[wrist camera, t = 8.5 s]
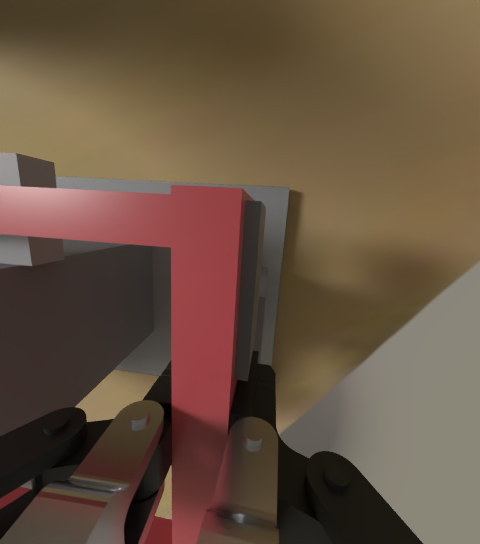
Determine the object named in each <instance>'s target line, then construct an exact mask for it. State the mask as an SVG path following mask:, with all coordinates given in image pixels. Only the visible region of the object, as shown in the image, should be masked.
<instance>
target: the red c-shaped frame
mask: <svg viewBox="0 0 480 544" xmlns="http://www.w3.org/2000/svg"><path fill="white" fill-rule="evenodd" d="M265 216H266V207H265V205H264V204H263V203H262V201H255V200H254V199H253V198H252V197H251V196H250V195H249V194H248V193H247V192H246V191H244V190H243V189H242V188H228V187H207V186H185V185H171V194H157V193H137V192H118V191H99V190H79V189H60V188H40V187H21V186H2V185H0V234H6V235H19V236H32V237H44V238H57V239H69V240H82V241H95V242H107V243H120V244H133V245H145V246H158V247H171V368H172V520H170V519H165V518H161V517H156V516H154V518H153V521H152V524H151V527H150V529H149V532H148V535H147V537H146V540H145V543H144V544H196V543H197V540H198V536H199V532H200V528H201V525H202V521H203V518H204V515H205V512H206V510H207V509H210V507H211V503H212V500H213V496H214V492H215V488H216V484H217V480H218V476H219V472H220V468H221V464H222V460H223V456H224V452H225V447H226V443H227V439H228V435H229V419H230V410H231V406H232V401H233V397H234V393H235V388H236V384H237V380H242V381H248V377H249V371H250V365H251V358H252V352H253V346H254V340H255V333H256V327H257V315H258V302H259V290H260V278H261V265H262V253H263V241H264V228H265ZM30 490H31V489H29V488H24V487H18V488H17V489H15V490H13V491H12V492H10V493H9V494H7V495H5V496H4V497H2V498H0V509H1V508H3V507H5V506H6V505H8V504H9V503H11V502H12V501H14V500H16V499H17V498H19V497H20V496H22V495H23V494H25V493H26V492H28V491H30Z"/></svg>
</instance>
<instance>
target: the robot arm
mask: <svg viewBox="0 0 480 544" xmlns="http://www.w3.org/2000/svg"><path fill="white" fill-rule="evenodd" d="M258 355H259V351H253V352H252V358H251V365H250V371H249V377H248V381H242V380H237V384H236V388H235V393H234V397H233V401H232V406H231V410H230V419H229V435H228V439H227V443H226V447H225V452H224V456H223V460H222V464H221V468H220V472H219V476H218V480H217V484H216V488H215V492H214V496H213V500H212V503H211V507H210V509H207V510H206V512H205V515H204V518H203V521H202V525H201V528H200V532H199V536H198V540H197V543H196V544H423V543H422V542H421V541H420V540H419V538H418V537H417V536H416V535H415V534H414V533H413V532H412V530H411V529H410V528H409V527H408V526H407V525H406V524H405V523H404V521H403V520H402V519H401V518H400V517H399V516H398V515H397V513H396V512H395V511H394V510H393V509H392V508H391V507H390V505H389V504H388V503H387V502H386V501H385V500H384V499H383V497H382V496H381V495H380V494H379V493H378V492H377V491H376V489H375V488H374V487H373V486H372V485H371V484H370V483H369V482H368V480H367V479H366V478H365V477H364V476H363V475H362V473H361V472H360V471H359V470H358V469H357V468H356V467H355V466H354V465H353V464H352V463H351V462H350V461H349V460H347V459H346V458H344V457H343V456H340V455H339V454H336V453H333V452H329V451H322V452H318V453H315V454H314V455H312V456H311V457H310V459H309V458H307V457H305V456H303V455H301V454H299V453H297V452H295V451H294V450H292V449H291V448H289V447H288V446H287V445H286V444H285V443H284V442H283V441H282V440H281V438H280V437H279V435H278V432H277V429H276V394H275V372H274V371H273V369H272V367H271V366H270V365H266V364H258ZM171 465H172V368H171V361H170V362H169V364H168V365H167V367H166V369H164V371H163V372H162V374H161V376H159V378H158V379H157V381H156V382H155V383H154V385H153V386H152V388H151V389H150V390H149V392H148V393H147V395H146V396H145V397H144V399H143V400H142V401H137V402H134V403H132V404H130V405H128V406H126V407H125V408H123V409H122V410H121V411H120V412H119V413H118V414H117V416H116V417H115V418H114V419H110V420H102V421H93V422H87V420H86V414H85V412H84V411H83V410H82V409H80V408H76V407H68V408H62V409H58V410H55V411H53V412H51V413H48V414H46V415H44V416H42V417H40V418H38V419H36V420H34V421H31V422H29V423H27V424H25V425H23V426H21V427H19V428H17V429H14V430H12V431H10V432H8V433H6V434H4V435H2V436H0V498H2V497H4V496H5V495H7V494H9V493H10V492H12V491H13V490H15V489H17V488H18V487H20V486H22V485H23V484H25V483H27V482H28V481H30V480H31V484H32V489H31V490H30V491H28V492H26V493H25V494H23V495H22V496H20V497H19V498H17V499H16V500H14V501H12V502H11V503H9V504H8V505H6V506H5V507H3V508H1V509H0V544H144V543H145V540H146V537H147V535H148V532H149V529H150V527H151V524H152V521H153V518H154V516H155V513H156V510H157V508H158V505H159V502H160V499H161V497H162V494H163V491H164V487H165V478H166V475H167V473H168V470H169V468H170V466H171Z"/></svg>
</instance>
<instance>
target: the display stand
mask: <svg viewBox="0 0 480 544" xmlns="http://www.w3.org/2000/svg"><path fill="white" fill-rule="evenodd" d="M0 185H2V186H21V187H40V188H60V189H79V190H99V191H118V192H137V193H157V194H171V185H185V186H207V187H228V188H242V189H243V190H244V191H246V192H247V193H248V194H249V195H250V196H251V197H252V198H253V199H254V200H255V201H262V203H263V204H264V205H265V207H266V216H265V228H264V241H263V253H262V265H261V278H260V290H259V302H258V315H257V327H256V333H255V340H254V346H253V351H259V355H258V364H266V365H270V366H272V356H273V346H274V336H275V326H276V317H277V307H278V297H279V287H280V277H281V267H282V258H283V248H284V238H285V228H286V218H287V208H288V199H289V189H290V188H288V187H267V186H246V185H225V184H203V183H182V182H161V181H140V180H119V179H98V178H77V177H56V176H55V167H54V163H53V162H49V161H45V160H41V159H37V158H33V157H29V156H25V155H21V154H17V153H0ZM170 361H171V247H158V246H145V245H133V244H120V243H107V242H95V241H82V240H69V239H57V238H44V237H32V236H19V235H6V234H0V436H2V435H4V434H6V433H8V432H10V431H12V430H14V429H17V428H19V427H21V426H23V425H25V424H27V423H29V422H31V421H34V420H36V419H38V418H40V417H42V416H44V415H46V414H48V413H51V412H53V411H55V410H58V409H62V408H68V407H75V406H76V405H77V404H78V403H79V402H80V401H81V400H82V399H83V398H85V397H86V396H87V395H88V394H89V393H90V392H91V391H92V390H93V389H94V388H95V387H96V386H97V385H98V384H99V383H100V382H101V381H102V380H103V379H104V378H105V377H106V376H107V375H108V374H110V373H111V372H112V371H113V370H114V369H115V370H122V371H129V372H136V373H143V374H150V375H157V376H161V374H162V372H163V371H164V369H166V367H167V365H168V364H169V362H170ZM20 487H24V488H29V489H32V484H31V480H30V481H28V482H27V483H25V484H23V485H22V486H20Z"/></svg>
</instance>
